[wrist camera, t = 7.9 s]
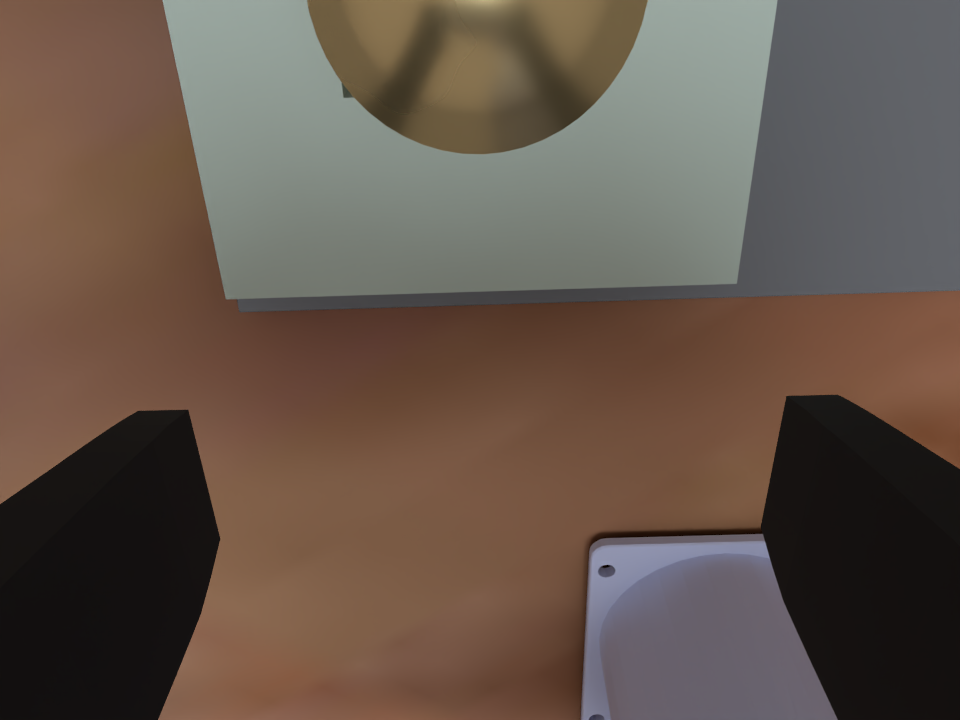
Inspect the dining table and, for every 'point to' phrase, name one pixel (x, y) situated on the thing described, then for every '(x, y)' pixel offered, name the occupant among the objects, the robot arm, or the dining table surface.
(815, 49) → the rubber mat
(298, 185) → the hole block
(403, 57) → the brass peg
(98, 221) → the dining table surface
